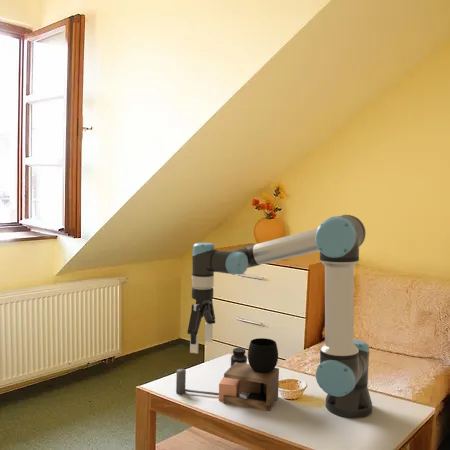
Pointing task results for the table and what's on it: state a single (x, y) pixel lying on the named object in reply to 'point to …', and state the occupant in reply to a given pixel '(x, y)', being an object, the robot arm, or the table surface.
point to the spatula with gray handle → (225, 388)
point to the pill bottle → (238, 356)
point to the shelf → (253, 386)
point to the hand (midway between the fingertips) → (201, 346)
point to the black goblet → (262, 361)
